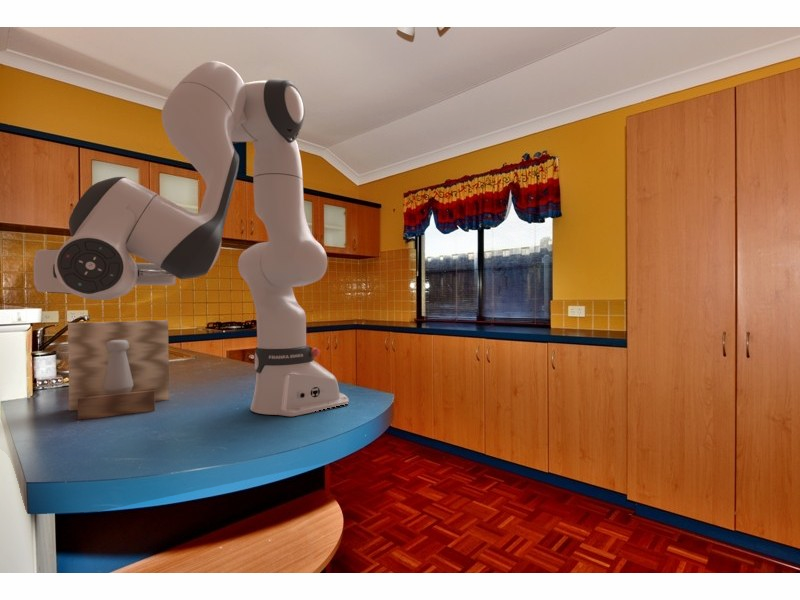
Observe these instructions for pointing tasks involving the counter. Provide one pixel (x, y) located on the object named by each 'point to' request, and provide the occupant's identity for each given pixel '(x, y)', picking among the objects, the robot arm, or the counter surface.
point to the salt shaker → (117, 369)
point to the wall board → (92, 356)
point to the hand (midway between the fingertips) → (114, 275)
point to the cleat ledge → (116, 404)
